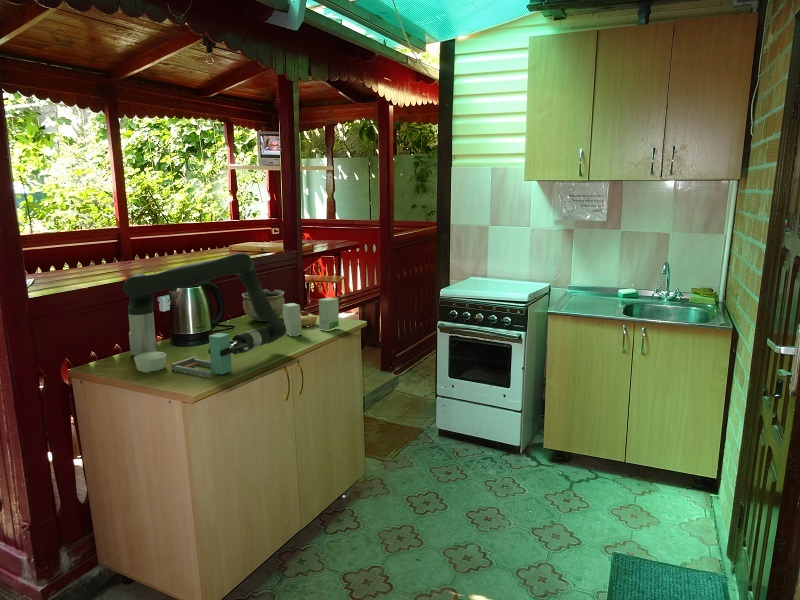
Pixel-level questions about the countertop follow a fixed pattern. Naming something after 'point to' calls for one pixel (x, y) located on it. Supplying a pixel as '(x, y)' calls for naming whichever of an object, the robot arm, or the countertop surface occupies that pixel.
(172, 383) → the countertop surface
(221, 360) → the teal block
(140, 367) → the ramekin
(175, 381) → the countertop surface
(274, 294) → the ceramic bowl
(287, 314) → the skincare box
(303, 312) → the pastry
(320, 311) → the skincare box
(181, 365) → the grey rectangular frame
